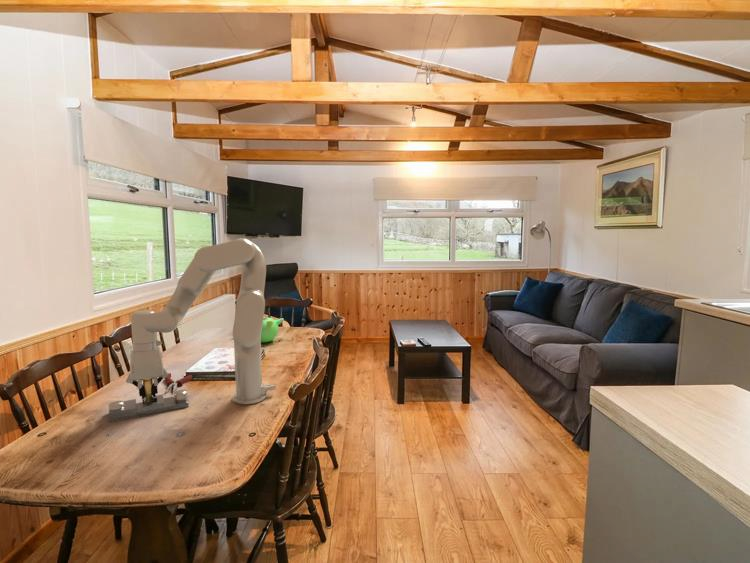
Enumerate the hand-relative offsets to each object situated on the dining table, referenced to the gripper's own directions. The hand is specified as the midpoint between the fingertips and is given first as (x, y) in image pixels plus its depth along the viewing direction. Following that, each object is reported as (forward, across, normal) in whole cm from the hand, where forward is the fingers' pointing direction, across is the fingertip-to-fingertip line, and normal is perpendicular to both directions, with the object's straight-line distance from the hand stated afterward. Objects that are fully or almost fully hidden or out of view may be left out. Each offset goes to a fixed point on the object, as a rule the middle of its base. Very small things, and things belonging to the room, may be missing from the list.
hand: (148, 396), depth 147 cm
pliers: (+6, -9, -23) cm, 26 cm away
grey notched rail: (+5, 0, 0) cm, 5 cm away
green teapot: (+5, -58, -68) cm, 90 cm away
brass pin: (+2, 0, 0) cm, 2 cm away
